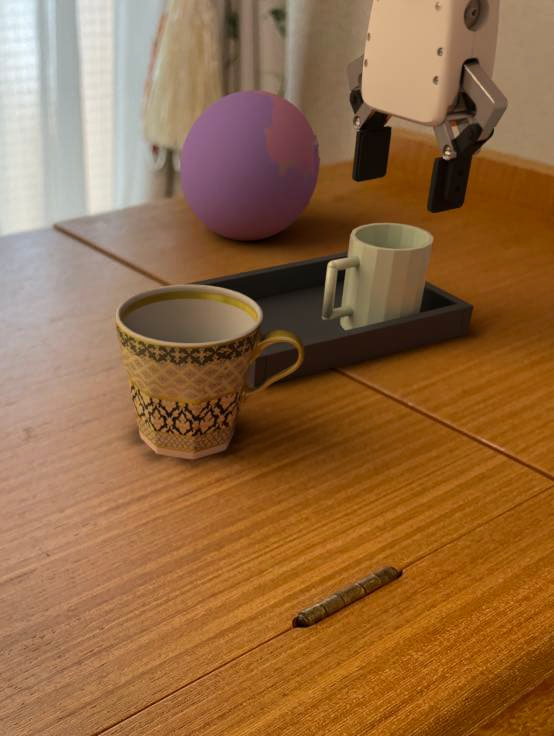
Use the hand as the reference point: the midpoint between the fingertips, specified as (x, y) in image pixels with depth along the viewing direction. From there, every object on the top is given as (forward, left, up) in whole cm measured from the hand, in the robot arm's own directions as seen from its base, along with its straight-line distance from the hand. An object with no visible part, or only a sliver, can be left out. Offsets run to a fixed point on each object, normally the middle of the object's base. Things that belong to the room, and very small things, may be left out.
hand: (404, 193), depth 72 cm
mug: (+2, 0, -12) cm, 12 cm away
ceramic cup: (+23, +10, -12) cm, 28 cm away
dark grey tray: (+5, -3, -12) cm, 14 cm away
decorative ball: (-2, -27, -12) cm, 30 cm away
